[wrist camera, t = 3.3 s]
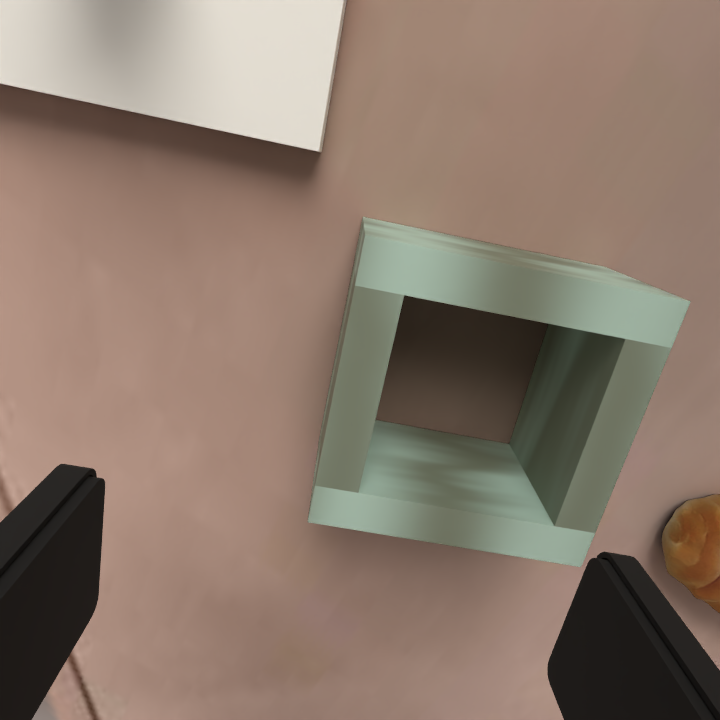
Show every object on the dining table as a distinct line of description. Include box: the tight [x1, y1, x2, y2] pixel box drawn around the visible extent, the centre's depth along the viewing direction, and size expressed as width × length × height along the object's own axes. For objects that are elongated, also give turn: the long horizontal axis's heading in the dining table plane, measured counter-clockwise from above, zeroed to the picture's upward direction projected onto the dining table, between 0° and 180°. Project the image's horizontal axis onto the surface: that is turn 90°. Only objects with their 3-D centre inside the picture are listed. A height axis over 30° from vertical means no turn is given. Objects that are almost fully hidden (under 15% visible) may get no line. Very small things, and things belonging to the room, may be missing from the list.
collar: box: [308, 217, 691, 567], centre depth 20 cm, size 10×10×6 cm
